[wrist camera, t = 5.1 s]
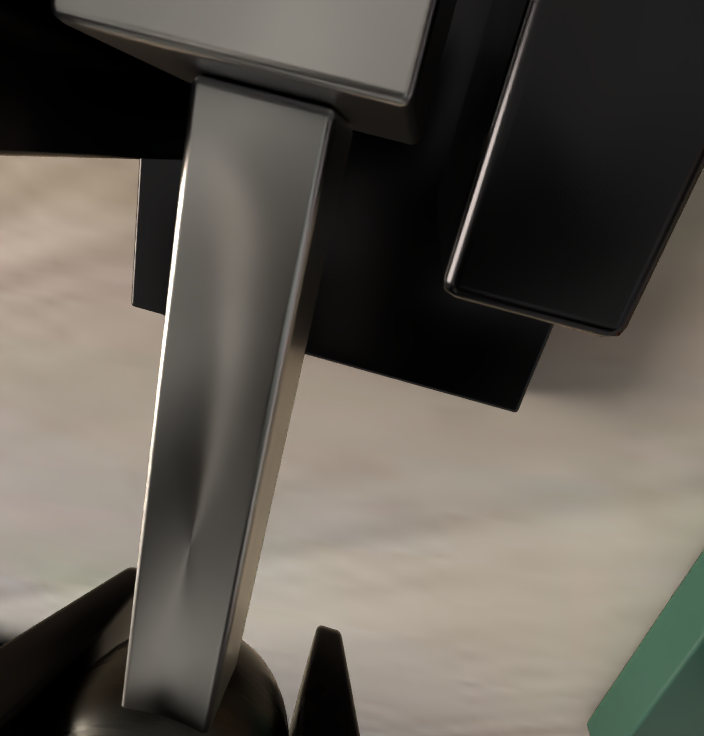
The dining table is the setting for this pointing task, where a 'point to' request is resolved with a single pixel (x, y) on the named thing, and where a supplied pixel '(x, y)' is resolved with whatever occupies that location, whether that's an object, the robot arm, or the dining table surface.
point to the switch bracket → (433, 180)
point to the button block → (662, 673)
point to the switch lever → (239, 320)
